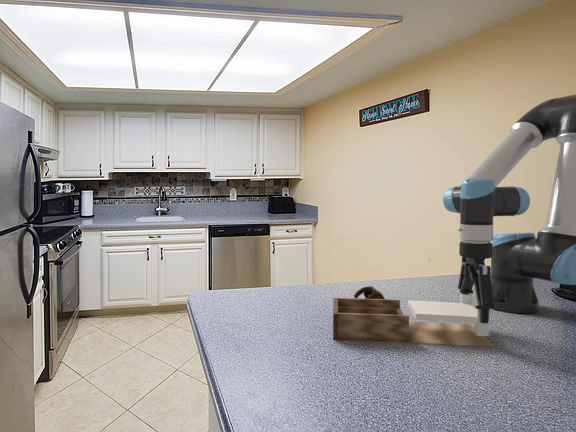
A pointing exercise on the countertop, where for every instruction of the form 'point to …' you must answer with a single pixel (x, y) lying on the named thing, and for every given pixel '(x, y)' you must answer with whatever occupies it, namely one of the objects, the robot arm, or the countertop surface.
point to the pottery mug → (369, 293)
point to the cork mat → (446, 334)
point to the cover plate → (443, 311)
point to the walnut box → (369, 320)
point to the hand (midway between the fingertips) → (473, 326)
